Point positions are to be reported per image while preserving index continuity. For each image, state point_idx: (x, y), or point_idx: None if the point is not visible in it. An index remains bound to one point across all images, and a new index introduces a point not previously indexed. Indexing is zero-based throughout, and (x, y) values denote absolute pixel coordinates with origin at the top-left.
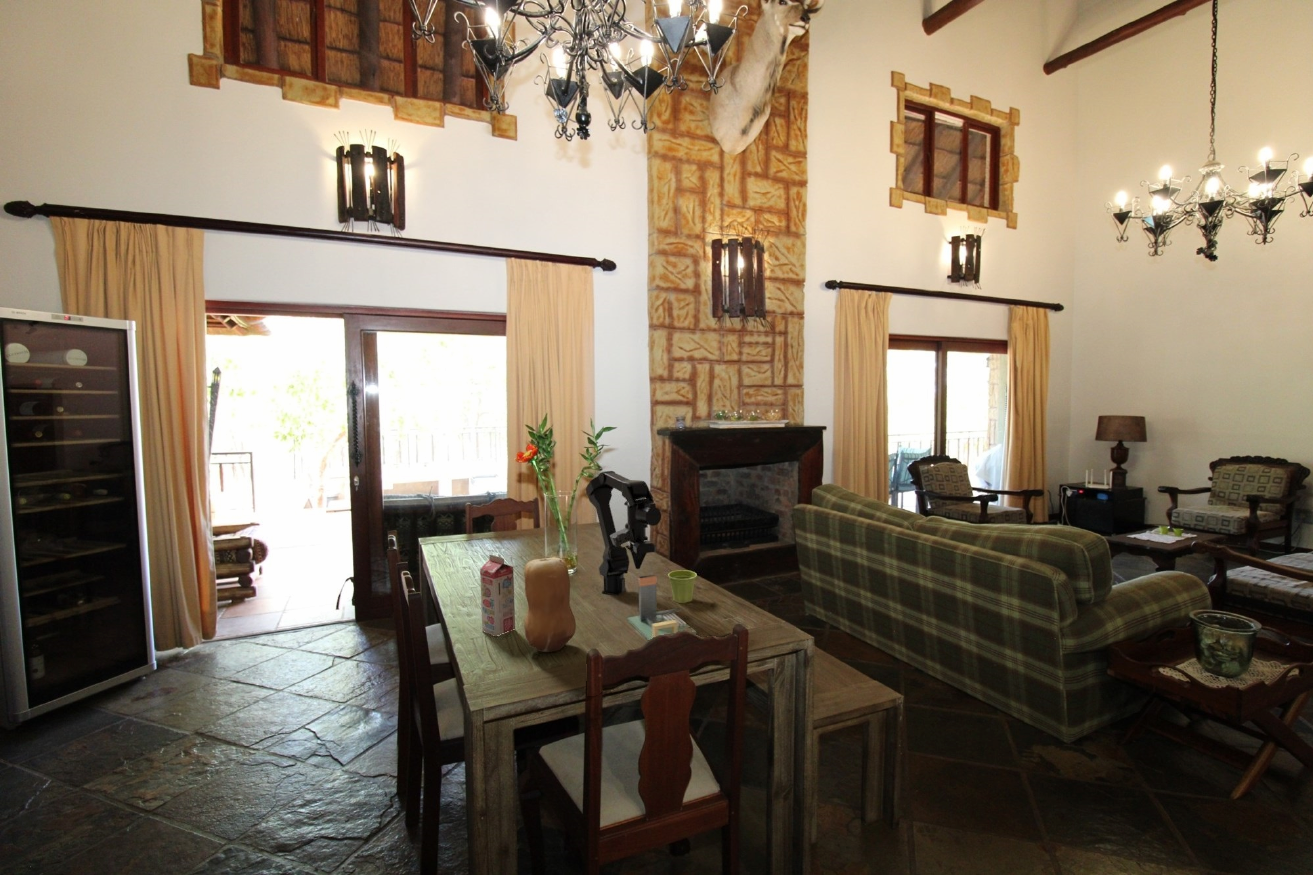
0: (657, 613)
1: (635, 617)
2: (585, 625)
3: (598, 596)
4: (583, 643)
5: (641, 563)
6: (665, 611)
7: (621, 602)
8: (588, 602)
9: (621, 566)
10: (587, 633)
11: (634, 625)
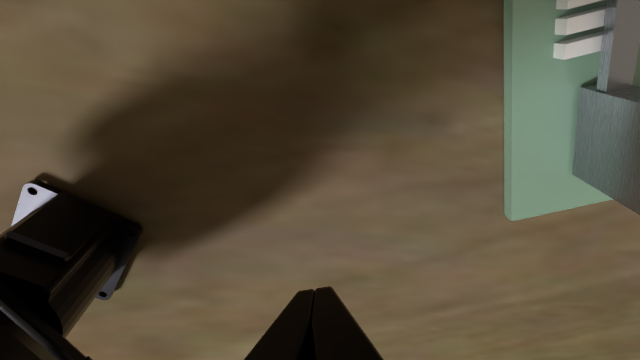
0: (633, 78)
1: (526, 185)
2: (484, 351)
3: (157, 306)
4: (631, 357)
5: (358, 328)
6: (634, 14)
7: (255, 218)
8: (237, 341)
9: (9, 355)
10: (558, 347)
11: (605, 197)
